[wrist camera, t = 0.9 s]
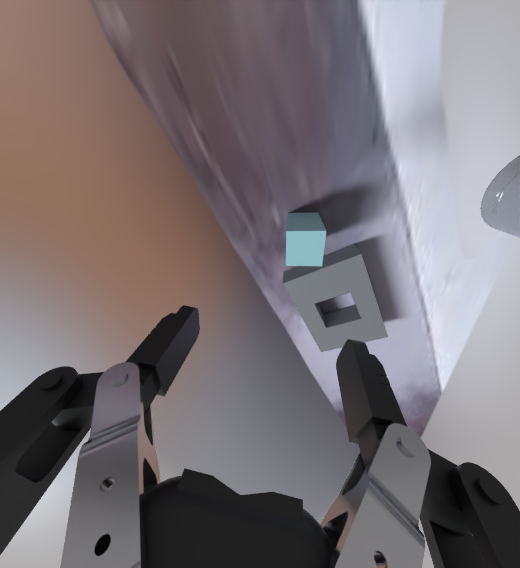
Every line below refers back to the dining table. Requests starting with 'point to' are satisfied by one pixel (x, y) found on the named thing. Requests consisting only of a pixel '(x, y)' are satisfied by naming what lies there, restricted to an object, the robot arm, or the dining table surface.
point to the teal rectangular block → (305, 239)
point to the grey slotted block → (331, 283)
